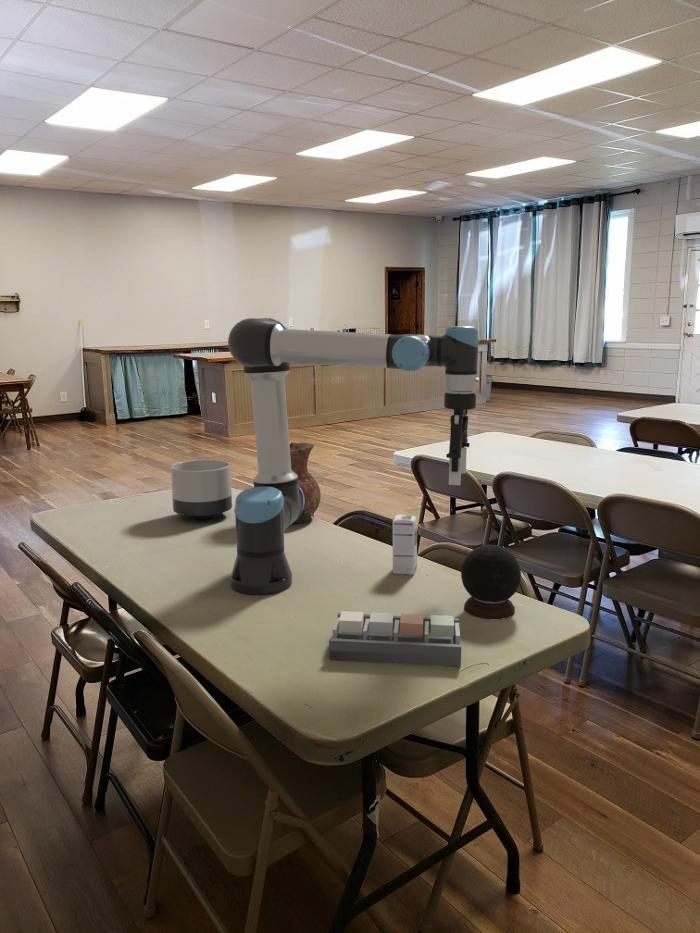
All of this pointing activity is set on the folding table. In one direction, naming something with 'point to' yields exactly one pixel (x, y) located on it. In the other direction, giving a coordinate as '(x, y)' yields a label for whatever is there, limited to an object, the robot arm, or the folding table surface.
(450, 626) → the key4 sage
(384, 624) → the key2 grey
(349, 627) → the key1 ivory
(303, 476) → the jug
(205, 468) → the planter
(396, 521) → the syrup box
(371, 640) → the keypad board
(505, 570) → the black ball on stand
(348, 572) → the folding table surface
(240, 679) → the folding table surface
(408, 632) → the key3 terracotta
